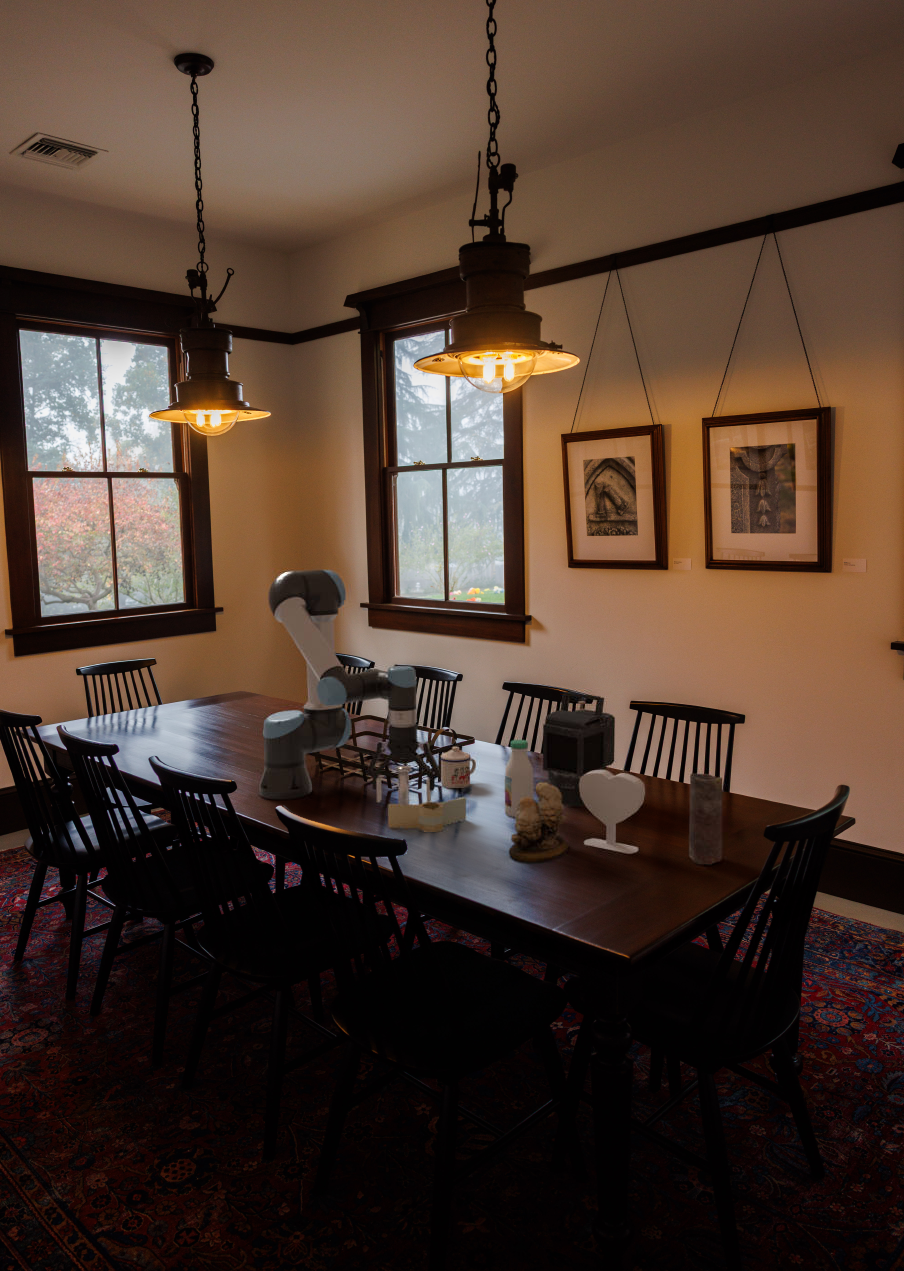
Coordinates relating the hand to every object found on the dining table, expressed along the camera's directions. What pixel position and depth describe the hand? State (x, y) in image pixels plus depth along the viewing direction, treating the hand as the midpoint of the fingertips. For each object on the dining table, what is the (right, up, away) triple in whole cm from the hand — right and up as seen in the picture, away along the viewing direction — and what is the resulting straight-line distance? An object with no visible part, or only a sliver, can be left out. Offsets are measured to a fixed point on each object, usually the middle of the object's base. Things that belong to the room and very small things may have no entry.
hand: (404, 801), depth 234 cm
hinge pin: (0, -3, 0) cm, 3 cm away
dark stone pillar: (+71, -7, -34) cm, 79 cm away
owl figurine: (+34, -7, -27) cm, 44 cm away
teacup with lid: (+15, 0, +28) cm, 32 cm away
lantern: (+49, -2, +13) cm, 50 cm away
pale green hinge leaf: (+11, -4, -9) cm, 15 cm away
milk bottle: (+31, -3, 0) cm, 31 cm away
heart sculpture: (+51, -6, -25) cm, 57 cm away
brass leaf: (+4, -5, -11) cm, 12 cm away
